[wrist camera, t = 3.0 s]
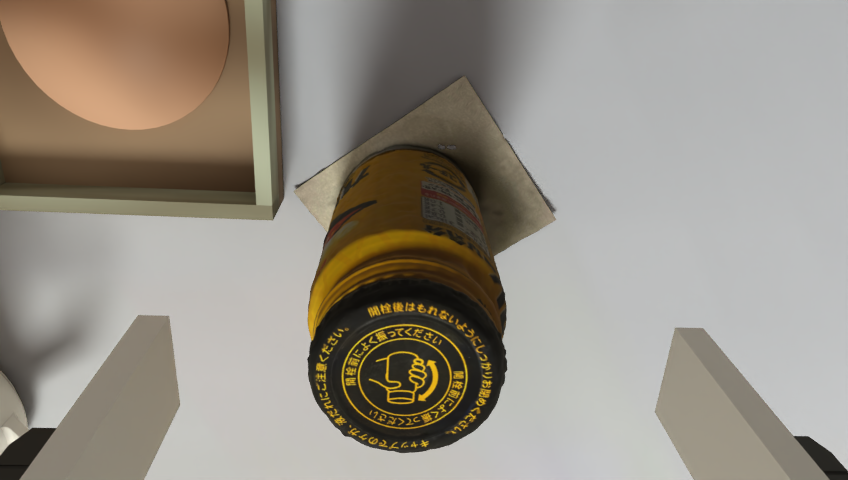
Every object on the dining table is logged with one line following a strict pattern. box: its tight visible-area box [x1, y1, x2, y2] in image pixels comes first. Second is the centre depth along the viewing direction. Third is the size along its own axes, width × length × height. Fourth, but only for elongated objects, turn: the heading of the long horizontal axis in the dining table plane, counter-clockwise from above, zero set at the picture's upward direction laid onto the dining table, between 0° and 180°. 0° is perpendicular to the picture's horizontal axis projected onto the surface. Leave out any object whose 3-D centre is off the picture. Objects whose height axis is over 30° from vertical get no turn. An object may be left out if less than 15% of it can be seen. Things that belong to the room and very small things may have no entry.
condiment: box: [294, 76, 556, 453], centre depth 22 cm, size 7×8×12 cm
